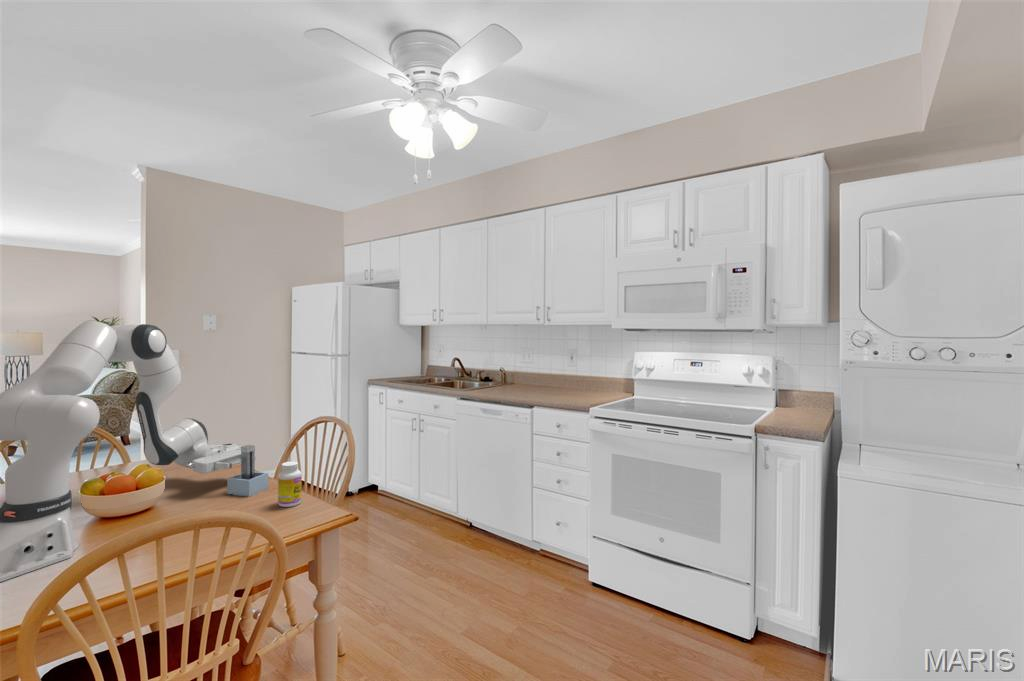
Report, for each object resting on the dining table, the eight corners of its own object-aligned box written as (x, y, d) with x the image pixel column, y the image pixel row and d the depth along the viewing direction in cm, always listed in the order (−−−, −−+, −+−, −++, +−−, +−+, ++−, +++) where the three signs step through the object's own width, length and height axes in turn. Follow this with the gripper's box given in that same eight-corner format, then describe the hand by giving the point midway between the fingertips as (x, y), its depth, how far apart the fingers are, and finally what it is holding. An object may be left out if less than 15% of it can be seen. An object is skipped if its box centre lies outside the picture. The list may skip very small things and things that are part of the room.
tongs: (247, 490, 161) (247, 447, 160) (240, 489, 162) (240, 446, 161) (255, 488, 164) (254, 445, 163) (248, 486, 165) (248, 444, 164)
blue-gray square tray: (249, 496, 158) (249, 480, 157) (227, 494, 160) (227, 478, 159) (268, 488, 166) (268, 472, 166) (247, 485, 168) (247, 470, 168)
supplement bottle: (295, 508, 149) (295, 466, 148) (274, 507, 149) (273, 466, 148) (305, 500, 155) (304, 460, 155) (284, 499, 155) (284, 460, 155)
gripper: (182, 456, 158) (214, 461, 153) (236, 442, 177) (266, 445, 173) (183, 475, 158) (214, 480, 154) (236, 459, 177) (266, 463, 173)
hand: (242, 462), depth 163 cm, fingers open, 8 cm apart
